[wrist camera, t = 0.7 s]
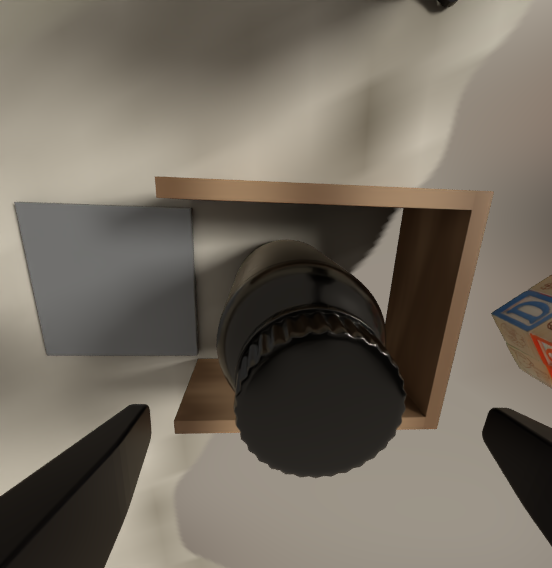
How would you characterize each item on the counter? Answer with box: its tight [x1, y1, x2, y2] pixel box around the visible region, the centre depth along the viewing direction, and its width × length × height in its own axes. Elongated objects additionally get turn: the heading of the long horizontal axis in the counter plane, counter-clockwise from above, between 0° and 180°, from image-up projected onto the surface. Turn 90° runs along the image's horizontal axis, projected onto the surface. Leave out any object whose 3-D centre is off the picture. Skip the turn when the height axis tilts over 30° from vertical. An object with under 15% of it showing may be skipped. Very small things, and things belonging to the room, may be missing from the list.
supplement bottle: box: [217, 240, 407, 478], centre depth 13 cm, size 7×7×12 cm
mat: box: [14, 202, 198, 356], centre depth 18 cm, size 10×10×1 cm
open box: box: [155, 177, 494, 434], centre depth 16 cm, size 14×13×6 cm
